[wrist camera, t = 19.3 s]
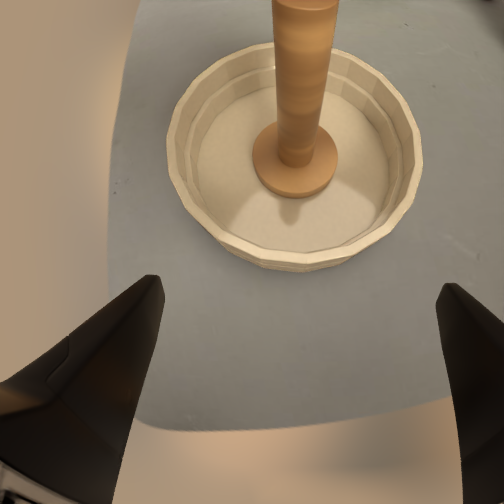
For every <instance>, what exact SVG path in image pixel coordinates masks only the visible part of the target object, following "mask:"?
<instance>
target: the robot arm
mask: <svg viewBox="0 0 504 504" xmlns="http://www.w3.org/2000/svg"><path fill="white" fill-rule="evenodd" d="M164 303H165V294H164V290H163V286H162V283H161V279H160V277H159V276H158V275H145V276H144V277H142V278H141V279H140V280H138V281H137V282H136V283H134V284H133V285H132V286H130V287H129V288H128V289H127V290H125V291H124V292H123V293H121V294H120V295H119V296H117V297H116V298H115V299H113V300H112V301H111V302H110V303H108V304H107V305H106V306H105V307H103V308H102V309H101V310H99V311H98V312H97V313H95V314H94V315H93V316H92V317H90V318H89V319H88V320H86V321H85V322H84V323H83V324H81V325H80V326H79V327H78V328H76V329H75V330H74V331H73V332H71V333H70V334H69V336H66V337H65V338H64V339H63V340H61V341H60V342H59V343H58V344H56V345H55V346H54V347H53V348H51V349H50V350H49V351H47V352H46V353H44V354H43V355H42V356H40V357H39V358H37V359H36V360H35V361H33V362H32V363H30V364H29V365H27V366H26V367H25V368H23V369H22V370H20V371H19V372H17V373H16V374H14V375H13V376H12V377H10V378H9V379H7V380H5V381H3V382H0V504H112V500H113V496H114V492H115V487H116V483H117V479H118V475H119V471H120V467H121V462H122V458H123V455H124V451H125V447H126V443H127V440H128V436H129V432H130V429H131V425H132V421H133V418H134V414H135V411H136V407H137V404H138V400H139V397H140V394H141V390H142V387H143V384H144V380H145V377H146V374H147V371H148V367H149V364H150V361H151V358H152V355H153V352H154V348H155V345H156V341H157V337H158V332H159V327H160V322H161V317H162V313H163V308H164ZM436 313H437V319H438V325H439V331H440V338H441V345H442V350H443V355H444V359H445V364H446V368H447V373H448V378H449V383H450V388H451V393H452V399H453V404H454V410H455V416H456V423H457V430H458V438H459V447H460V457H461V461H462V462H461V471H462V484H463V485H462V486H463V504H501V503H503V504H504V323H503V322H502V321H501V320H499V319H498V318H497V317H496V316H495V315H494V314H493V313H491V312H490V311H489V310H488V309H487V308H486V307H484V306H483V305H482V304H481V303H480V302H479V301H477V300H476V299H475V298H474V297H473V296H471V295H470V294H469V293H468V292H466V291H465V290H464V289H463V288H462V287H460V286H459V285H458V284H456V283H445V284H444V285H443V287H442V290H441V292H440V294H439V297H438V299H437V301H436Z"/></svg>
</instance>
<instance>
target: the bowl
mask: <svg viewBox="0 0 504 504" xmlns="http://www.w3.org/2000/svg"><path fill="white" fill-rule="evenodd" d="M276 121H277V101H276V76H275V53H274V42H271V43H264V44H258V45H252V46H250V47H247V48H245V49H242V50H240V51H237V52H235V53H233V54H230V55H228V56H226V57H223V58H221V59H219V60H218V61H217V62H215V63H214V64H213V65H212V66H210V67H209V68H208V69H206V70H205V71H204V72H203V73H201V74H200V75H199V76H198V77H196V78H195V79H194V80H193V82H192V83H191V84H190V86H189V87H188V89H187V90H186V92H185V93H184V94H183V96H182V97H181V99H180V100H179V102H178V103H177V105H176V106H175V109H174V112H173V115H172V119H171V122H170V126H169V130H168V133H167V137H166V149H167V160H168V171H169V176H170V178H171V180H172V182H173V184H174V187H175V189H176V191H177V193H178V195H179V197H180V199H181V201H182V203H183V205H184V207H185V209H186V210H187V211H188V212H189V213H190V214H191V215H192V216H193V217H194V218H195V220H196V221H197V222H198V223H199V224H200V225H201V226H202V227H203V228H204V229H205V230H206V231H207V232H208V233H209V234H210V235H212V236H213V237H214V238H215V239H216V240H217V241H218V242H219V243H220V244H221V245H222V246H223V247H224V248H225V249H226V250H227V251H228V252H230V253H232V254H234V255H236V256H238V257H241V258H243V259H245V260H247V261H249V262H251V263H254V264H256V265H258V266H260V267H262V268H267V269H275V270H284V271H292V272H308V271H312V270H317V269H322V268H327V267H332V266H337V265H339V264H342V263H343V262H345V261H347V260H348V259H350V258H352V257H353V256H355V255H357V254H358V253H360V252H362V251H363V250H365V249H367V248H368V247H370V246H371V245H373V244H374V243H376V242H377V241H379V240H380V239H381V238H383V237H384V236H386V235H387V234H389V233H390V232H391V230H392V229H393V228H394V227H395V225H396V224H397V223H398V221H399V220H400V219H401V218H402V216H403V215H404V214H405V212H406V211H407V210H408V208H409V207H410V206H411V204H412V203H413V201H414V198H415V195H416V191H417V188H418V184H419V180H420V177H421V173H422V169H423V159H422V148H421V138H420V131H419V129H418V127H417V124H416V122H415V120H414V117H413V115H412V113H411V111H410V109H409V107H408V104H407V102H406V101H405V99H404V98H403V97H402V96H401V94H400V93H399V92H398V91H397V90H396V89H395V88H394V86H393V85H392V84H391V83H390V82H389V81H388V80H387V79H386V77H385V76H384V75H382V74H381V73H380V72H378V71H377V70H375V69H374V68H372V67H371V66H369V65H368V64H366V63H365V62H363V61H362V60H360V59H359V58H357V57H355V56H353V55H351V54H349V53H346V52H343V51H340V50H337V49H335V48H332V51H331V57H330V63H329V69H328V75H327V81H326V86H325V92H324V98H323V103H322V109H321V114H320V120H319V126H321V127H322V128H323V129H325V130H326V131H327V132H328V133H329V135H330V136H331V137H332V139H333V141H334V143H335V145H336V148H337V152H338V163H337V167H336V170H335V173H334V175H333V177H332V179H331V181H330V183H329V184H328V185H327V186H326V187H325V188H324V189H323V190H322V191H320V192H319V193H317V194H315V195H313V196H310V197H306V198H298V199H295V198H286V197H283V196H280V195H277V194H275V193H273V192H272V191H270V190H269V189H267V188H266V187H265V186H264V185H263V184H262V183H261V181H260V180H259V178H258V177H257V175H256V172H255V169H254V164H253V158H252V150H253V145H254V142H255V140H256V138H257V136H258V135H259V134H260V132H261V131H262V130H263V129H264V128H266V127H267V126H268V125H270V124H272V123H273V122H276Z"/></svg>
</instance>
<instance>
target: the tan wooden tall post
mask: <svg viewBox="0 0 504 504" xmlns="http://www.w3.org/2000/svg"><path fill="white" fill-rule="evenodd" d="M338 5H339V0H272V16H273V34H274V53H275V76H276V101H277V121H276V122H273V123H272V124H270V125H268V126H267V127H266V128H264V129H263V130H262V131H261V132H260V134H259V135H258V136H257V138H256V140H255V142H254V145H253V150H252V158H253V164H254V169H255V172H256V175H257V177H258V178H259V180H260V181H261V183H262V184H263V185H264V186H265V187H266V188H267V189H269V190H270V191H272V192H273V193H275V194H277V195H280V196H283V197H286V198H295V199H298V198H306V197H310V196H313V195H315V194H317V193H319V192H320V191H322V190H323V189H324V188H325V187H326V186H327V185H328V184H329V183H330V181H331V179H332V177H333V175H334V173H335V170H336V167H337V163H338V152H337V148H336V145H335V143H334V141H333V139H332V137H331V136H330V135H329V133H328V132H327V131H326V130H325V129H323V128H322V127H321V126H319V120H320V114H321V109H322V103H323V98H324V92H325V86H326V81H327V75H328V69H329V63H330V57H331V51H332V44H333V38H334V32H335V25H336V18H337V12H338Z"/></svg>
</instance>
